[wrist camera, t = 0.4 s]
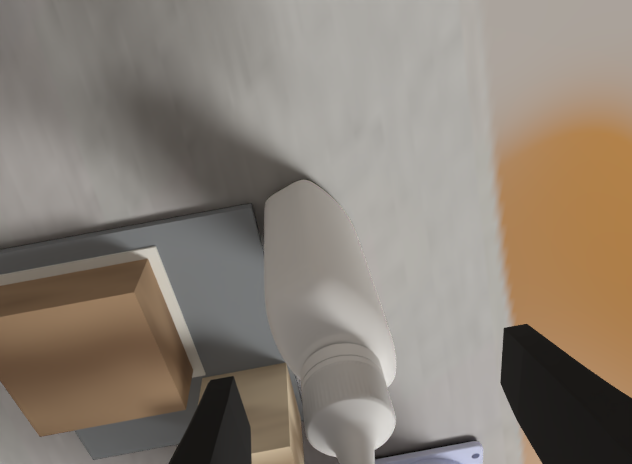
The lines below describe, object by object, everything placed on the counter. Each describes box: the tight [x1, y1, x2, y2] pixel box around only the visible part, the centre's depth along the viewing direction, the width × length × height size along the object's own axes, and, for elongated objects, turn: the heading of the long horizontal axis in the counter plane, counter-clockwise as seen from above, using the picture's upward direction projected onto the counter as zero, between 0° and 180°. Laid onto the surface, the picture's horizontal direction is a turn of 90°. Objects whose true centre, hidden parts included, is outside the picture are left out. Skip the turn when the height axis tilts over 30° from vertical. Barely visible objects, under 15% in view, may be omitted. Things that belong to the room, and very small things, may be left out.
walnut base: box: [0, 259, 193, 437], centre depth 21 cm, size 7×7×2 cm
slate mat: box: [0, 203, 304, 460], centre depth 24 cm, size 14×12×1 cm
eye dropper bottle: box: [264, 180, 396, 464], centre depth 16 cm, size 4×6×12 cm
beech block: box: [198, 363, 304, 464], centre depth 24 cm, size 4×4×5 cm
